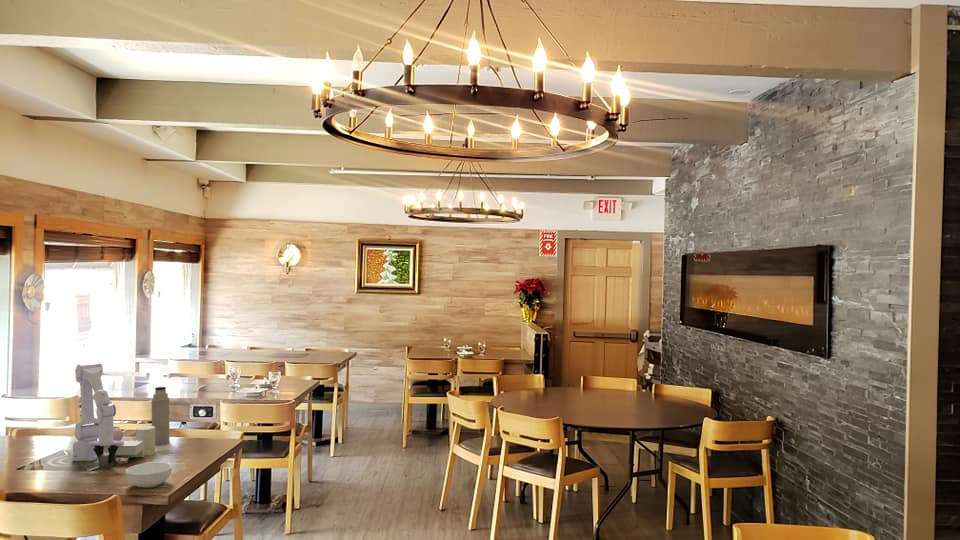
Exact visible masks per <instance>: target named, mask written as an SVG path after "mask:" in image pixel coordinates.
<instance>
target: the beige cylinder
mask: <svg viewBox="0 0 960 540" xmlns="http://www.w3.org/2000/svg"><path fill="white" fill-rule="evenodd" d="M135 438H136V439H135V441H145V442H144V456H149V455H148V454H150V455H153V454H155V453H156V445H155V426H152V425H145V426H144V425H142V426H138V427H136V428H135ZM152 453H153V454H152Z"/></svg>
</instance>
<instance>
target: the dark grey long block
mask: <svg viewBox="0 0 960 540" xmlns="http://www.w3.org/2000/svg"><path fill="white" fill-rule="evenodd" d="M98 463H99V467H98V469H99V470H102V471H103V470H109V469H110V468H112V466H114V464H115V465H116V457H114V460H113V462H112V463H109V453H103V454H101V455H100V456H99V460H98Z"/></svg>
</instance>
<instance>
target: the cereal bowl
mask: <svg viewBox="0 0 960 540" xmlns="http://www.w3.org/2000/svg"><path fill="white" fill-rule="evenodd" d="M172 469H173V467H172V465H171V464H169V463H167V462H161V461H159V462H158V461H157V462H154V461H153V462H145V463H137V464H135V465H132V466H129V467H128V468H126V469H125V479H126V481H127V482H128V483H129V484H130V485H132V486H136V487H138V488H140V487H151V488H155V487H157V485H158V486H159V485H160V484H163V483H164V482H166V481H167V480H169V478H170V477H171V474H172ZM154 486H155V487H154Z"/></svg>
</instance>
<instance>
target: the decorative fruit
mask: <svg viewBox="0 0 960 540" xmlns="http://www.w3.org/2000/svg"><path fill="white" fill-rule="evenodd" d="M123 437H124V432H123V430H122V429H120V427H119V426H113V440H116V441H122V439H123Z"/></svg>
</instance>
